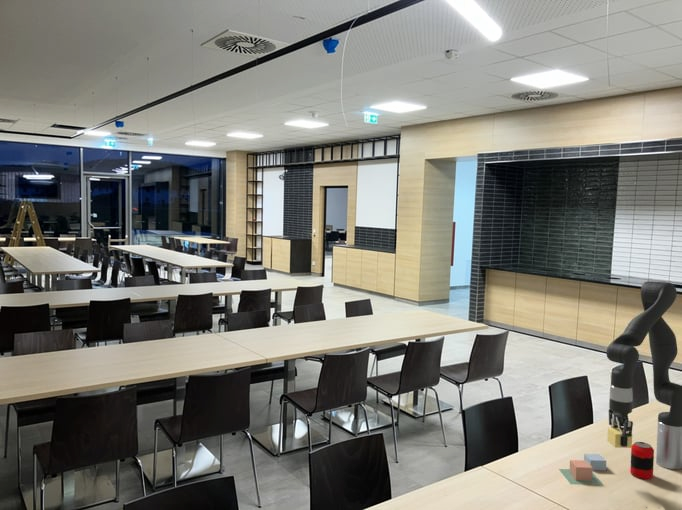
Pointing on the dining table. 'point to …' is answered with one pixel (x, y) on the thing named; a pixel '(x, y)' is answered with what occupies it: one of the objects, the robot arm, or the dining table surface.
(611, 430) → the mustard brick
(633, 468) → the soda can
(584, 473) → the base brick
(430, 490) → the dining table surface
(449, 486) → the dining table surface
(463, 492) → the dining table surface
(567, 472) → the build plate
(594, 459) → the slate brick
